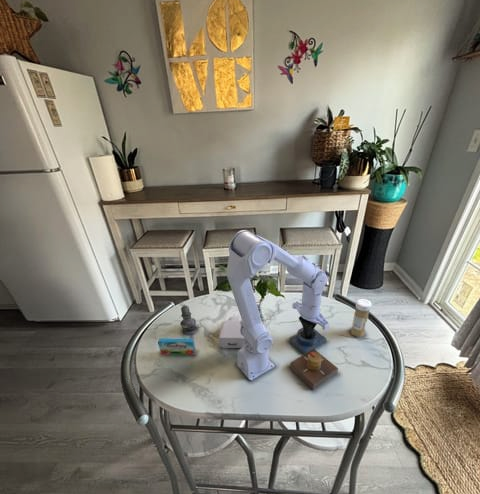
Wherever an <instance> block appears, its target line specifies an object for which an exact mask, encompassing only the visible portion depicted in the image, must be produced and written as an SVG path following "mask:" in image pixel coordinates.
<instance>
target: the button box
mask: <svg viewBox="0 0 480 494" xmlns="http://www.w3.org/2000/svg"><path fill="white" fill-rule="evenodd" d="M302 331H304V330H303V327H301V328H299V329H298V330H297V332H296V334H294V335H292V336H290V337H288V338H289V339H288V342H289V343H290V344H291V345H292V346H294V347H295V348H296V349H297V350H298V351H300V352H301V353H302V355H304V354H306V353H307V352H309V351H311V350H312V349H316V348H318V347H319V346H321V345H323V344H324V343H326V342H327V337H326V336H324V335H323V334H322V333H320V332H319V331H318V330H316V329H315V328H314V329H313V332H314V334H315V337H314V338H313V339H304V338H303V337H302V336H301V333H302Z"/></svg>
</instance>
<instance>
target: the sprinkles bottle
mask: <svg viewBox="0 0 480 494" xmlns="http://www.w3.org/2000/svg"><path fill="white" fill-rule="evenodd" d="M371 308H372V302H371V301H370V300H368V299H366V298H359V299H358V300H356V303H355V310H354V313H353V319H352V323H351V330H350V334H351V335H353V336H354V337H356V338H362V337H364V335H365V333H366V332H365V331H366V328H367V325H368V319H369V316H370V315H369V314H370V310H371Z"/></svg>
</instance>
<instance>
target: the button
mask: <svg viewBox="0 0 480 494" xmlns="http://www.w3.org/2000/svg"><path fill="white" fill-rule="evenodd" d="M301 336H302V337H303V338H304V339H313V338H314V337H315V334H314V332H312V334H311V335H309V336H306V335H305V333H304V331H302V333H301Z"/></svg>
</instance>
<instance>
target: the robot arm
mask: <svg viewBox="0 0 480 494" xmlns="http://www.w3.org/2000/svg"><path fill="white" fill-rule="evenodd" d="M227 246H228V252H229V254H228V260H227V265H226V278H227V280H228V283H229V286H230V290H231V292H232V295H233V298H234V301H235V304H236V307H237V310H238V312H239V317H241V319H242V320H241V321H240V324H241V328H240V333H241V335H242V336H244V339H245V344H244V346H243V347H242V348H239V349H238V350H237V351H236V358H237V363H236V366H237V367H238V368H239V369H240V370H241V372H242V374H244V375H245V376H246V378H247V379H248V380H249V381H253V380H255V379H256V378H258V377H260V376H261V375H263V374H265V373H267V372H268V371H270V370H272V369H273V368H275V364H274V363H273V362H272V361H271V360H270V357H269V356H270V353H269V352H270V349H271V348H272V346H273V344H274V338H273V337H272V336H271V335H270V334H269V331H268V330H267V327H265V325H264V323H263V322H262V318H261V315H260V310H259V308H258V307H259V306H258V304H257V300H256V296H255V293H254V290H253V286H252V282H251V279H253V278H254V277H255V276H256V275H257V274H258V273H259V272H260V271H261V270H262V269H263V268H264V267H265V266H266V265H267V264H271V263H272V262H273V261H275V262H277V263H278V264H281V265H283V266H285V268H286V272H287V274H289V275H291V276H292V277H294V278H296V279H297V280H299V281H301V282H302V292H301V293H302V294H301V302H299V301H295V302H293V303H292V305H291V306H292V309H293V310H296V312H298V314H299V316H298V320H299V322H300V324H301V327H302V328H303V330H304V333H305V335H306V336H309V335H311V334H312V332H313V329H315V328H316V326H317V325H319V326H320V327H321V328H322V330H323V331H326V330H329V328H330V324H331V323H330V322H329V321H327V320H326V318H325V316H323V314H322V313H321V312H322V309H321V304H322V303H321V302H322V294H323V292H324V290H325V286H326V285H327V283H328V281H329V277H328V276H327V273H326V271H324V270H322V269H320V268H319V267H318V264H316V263H315V262H310V261H309V257H307V256H305V255H299V254H298V255H294V256H293V255H291V254H290V253H288V252H287V251H286V250H284V249H283V248H282V247H280V246H279V245H277V244H275V243H274V242H272V241H271V240H270V239H266V238H264V237H262V236H260V235H258V234H253V233H252V232H251V231H250V230H248V229H242V230H239V231H237V232H236V233H235V234H234V235H233V237H232V238H231V241H230V242H229V243H228V245H227Z"/></svg>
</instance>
